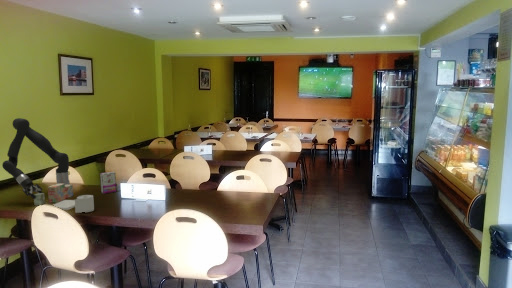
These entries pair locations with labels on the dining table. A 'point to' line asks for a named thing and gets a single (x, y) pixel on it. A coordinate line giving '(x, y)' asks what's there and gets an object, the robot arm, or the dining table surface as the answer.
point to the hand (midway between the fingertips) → (39, 196)
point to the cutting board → (65, 204)
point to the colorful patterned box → (59, 192)
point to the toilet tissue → (84, 204)
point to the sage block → (39, 199)
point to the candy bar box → (108, 182)
